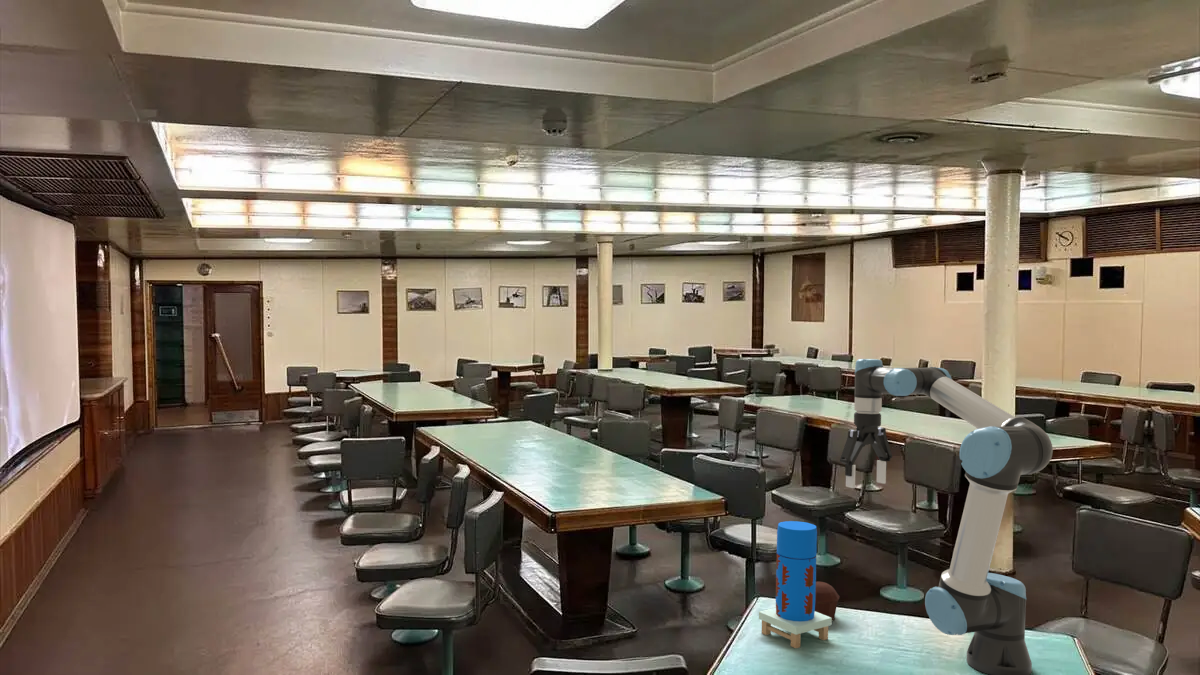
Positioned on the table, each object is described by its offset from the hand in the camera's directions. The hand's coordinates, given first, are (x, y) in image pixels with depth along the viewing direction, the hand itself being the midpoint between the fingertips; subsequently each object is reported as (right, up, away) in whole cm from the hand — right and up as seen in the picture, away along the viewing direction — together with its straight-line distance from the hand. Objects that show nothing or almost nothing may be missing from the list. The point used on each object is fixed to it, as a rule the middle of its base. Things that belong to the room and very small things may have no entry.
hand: (865, 485), depth 242 cm
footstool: (-23, -41, -9) cm, 47 cm away
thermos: (-23, -35, -9) cm, 43 cm away
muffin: (-12, -41, +7) cm, 43 cm away
